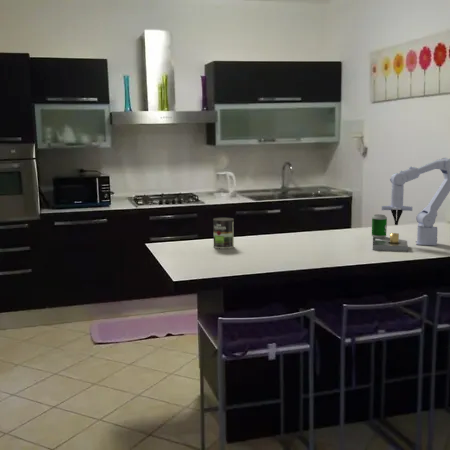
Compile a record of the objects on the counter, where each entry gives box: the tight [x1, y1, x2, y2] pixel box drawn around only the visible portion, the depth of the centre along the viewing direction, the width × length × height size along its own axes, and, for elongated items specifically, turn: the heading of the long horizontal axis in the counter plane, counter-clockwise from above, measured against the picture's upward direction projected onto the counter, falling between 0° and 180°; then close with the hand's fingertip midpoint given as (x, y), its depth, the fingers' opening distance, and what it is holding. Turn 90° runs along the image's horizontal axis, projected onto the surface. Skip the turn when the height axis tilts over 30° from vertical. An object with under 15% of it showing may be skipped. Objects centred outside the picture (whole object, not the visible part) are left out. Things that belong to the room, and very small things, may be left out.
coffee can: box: [212, 217, 235, 250], centre depth 280 cm, size 10×10×14 cm
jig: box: [372, 236, 409, 252], centre depth 272 cm, size 16×12×4 cm
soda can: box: [371, 214, 388, 240], centre depth 298 cm, size 8×8×12 cm
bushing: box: [389, 232, 400, 244], centre depth 272 cm, size 4×4×7 cm
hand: (396, 224), depth 279 cm, fingers closed
